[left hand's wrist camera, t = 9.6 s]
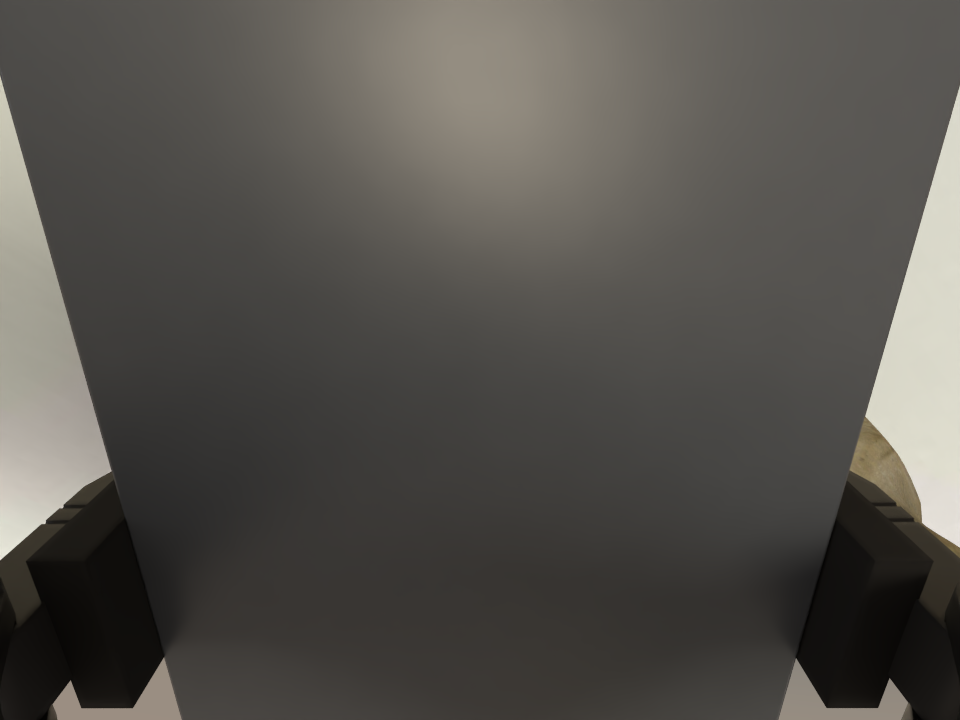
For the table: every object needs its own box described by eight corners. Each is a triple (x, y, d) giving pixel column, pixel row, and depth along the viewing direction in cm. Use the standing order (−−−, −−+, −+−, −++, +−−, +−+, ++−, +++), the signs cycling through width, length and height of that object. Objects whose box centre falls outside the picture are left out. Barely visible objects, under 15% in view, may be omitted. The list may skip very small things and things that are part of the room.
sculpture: (687, 427, 33) (839, 636, 19) (793, 348, 31) (1047, 516, 17) (743, 487, 34) (922, 722, 20) (846, 415, 33) (1120, 620, 19)
